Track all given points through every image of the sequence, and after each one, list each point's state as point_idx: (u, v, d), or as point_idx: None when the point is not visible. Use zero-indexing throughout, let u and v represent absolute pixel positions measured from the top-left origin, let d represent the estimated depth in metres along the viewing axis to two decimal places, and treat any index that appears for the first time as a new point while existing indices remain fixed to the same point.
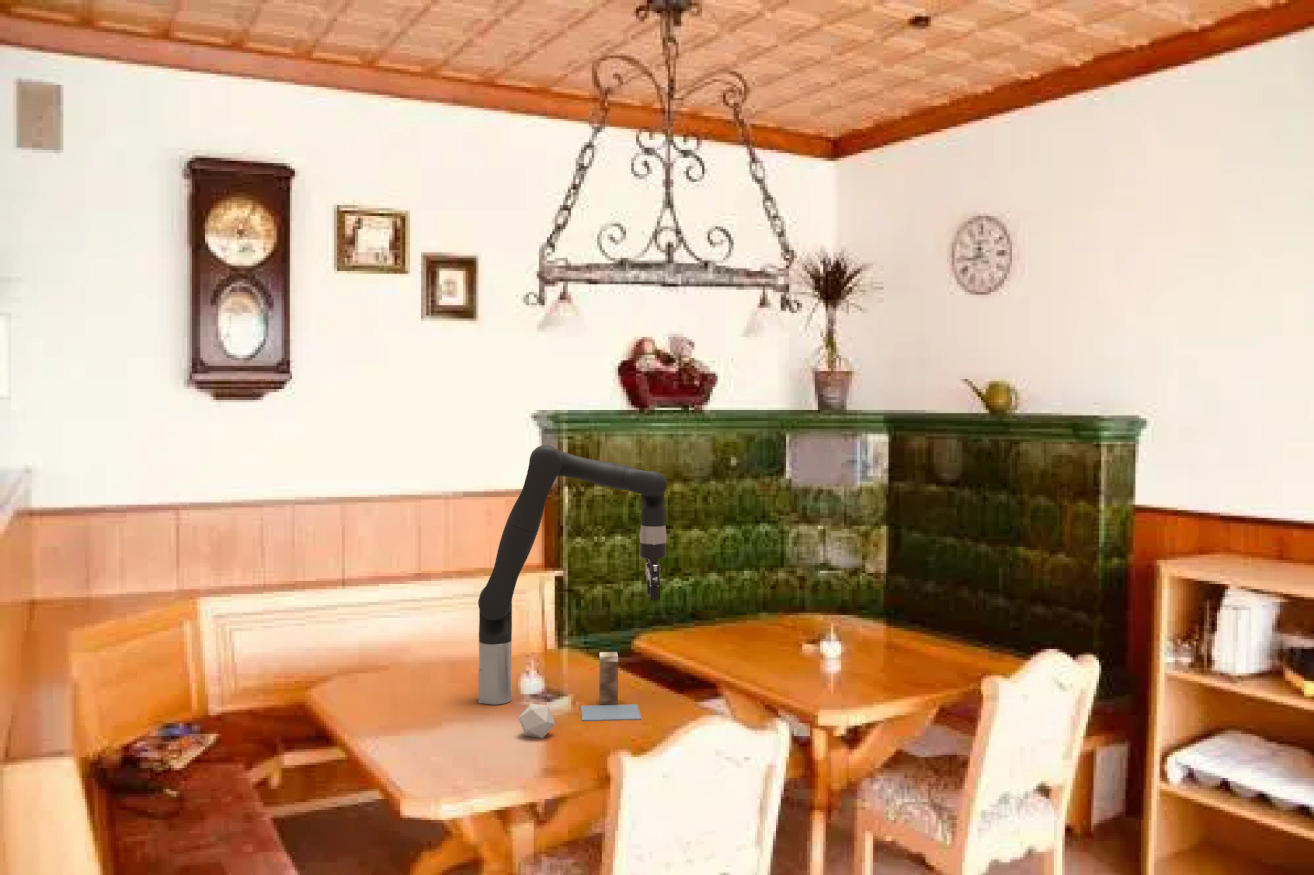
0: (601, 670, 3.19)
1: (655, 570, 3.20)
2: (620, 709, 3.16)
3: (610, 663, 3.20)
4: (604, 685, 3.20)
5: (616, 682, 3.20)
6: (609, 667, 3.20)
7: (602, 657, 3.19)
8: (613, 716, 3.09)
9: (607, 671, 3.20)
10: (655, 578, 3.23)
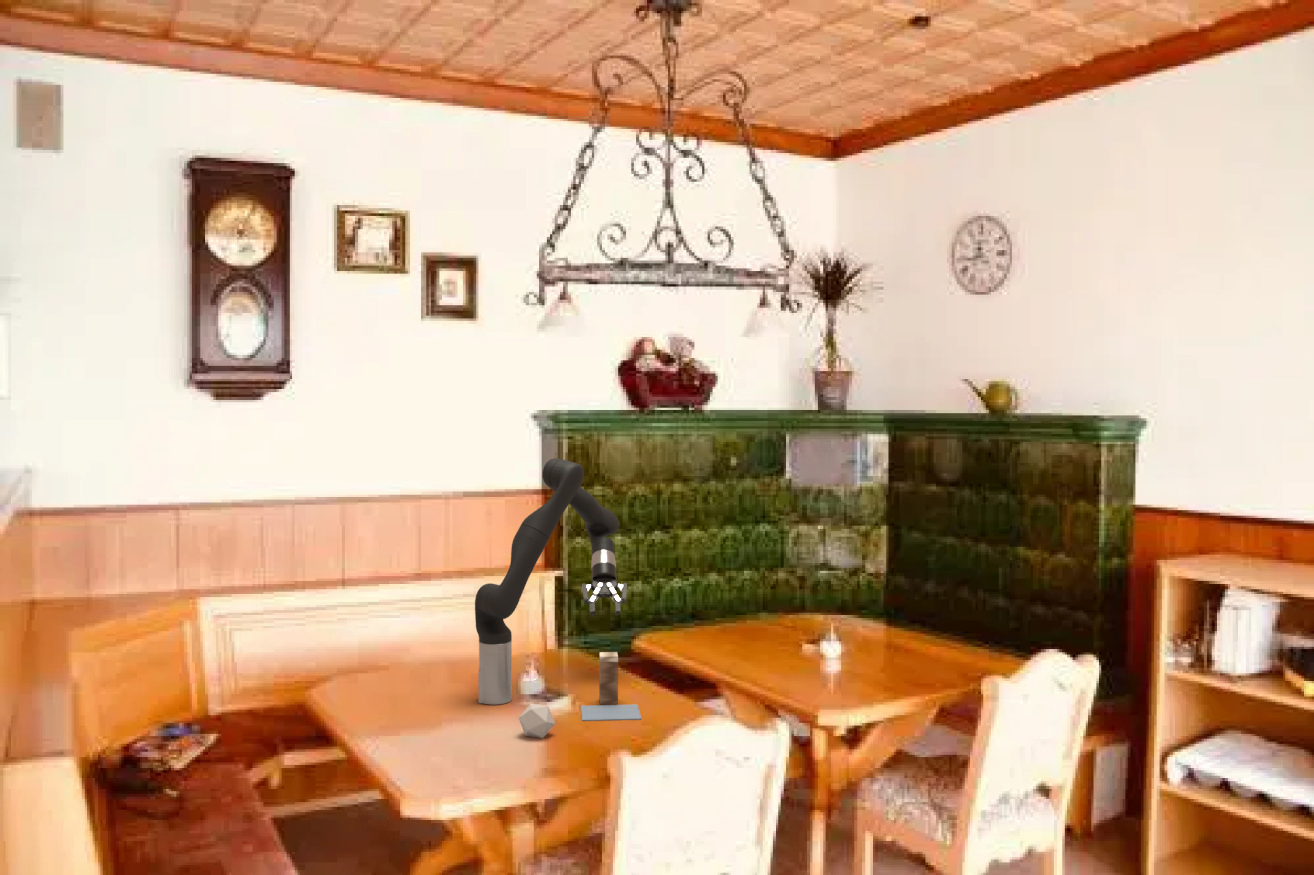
0: (601, 670, 3.19)
1: None
2: (620, 709, 3.16)
3: (610, 663, 3.19)
4: (604, 685, 3.20)
5: (616, 682, 3.20)
6: (609, 667, 3.20)
7: (602, 657, 3.19)
8: (613, 716, 3.09)
9: (607, 671, 3.20)
10: None
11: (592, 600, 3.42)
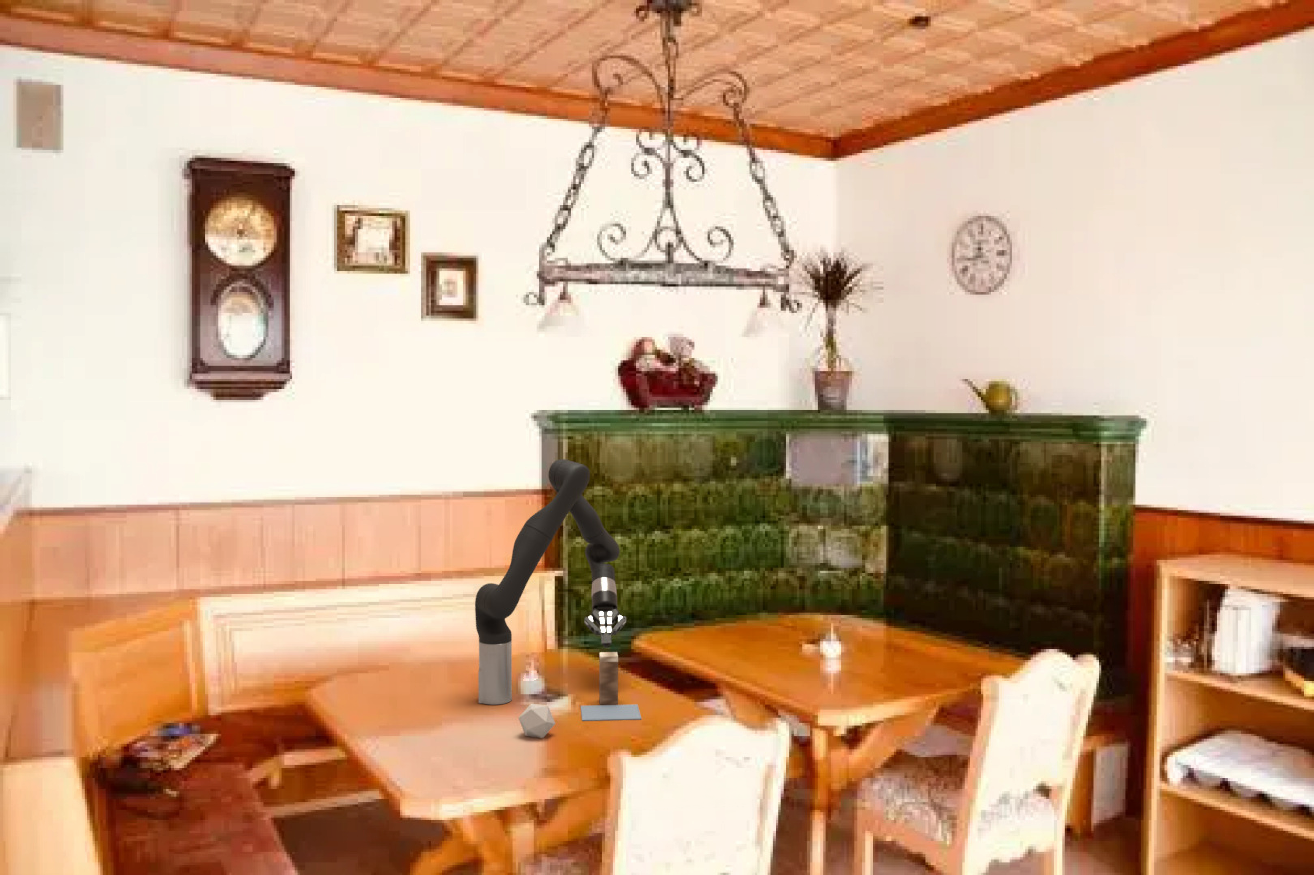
0: (601, 670, 3.19)
1: (623, 623, 3.37)
2: (620, 709, 3.16)
3: (610, 663, 3.19)
4: (604, 685, 3.20)
5: (616, 682, 3.20)
6: (609, 667, 3.20)
7: (602, 657, 3.19)
8: (613, 716, 3.09)
9: (607, 671, 3.20)
10: None
11: (603, 631, 3.33)
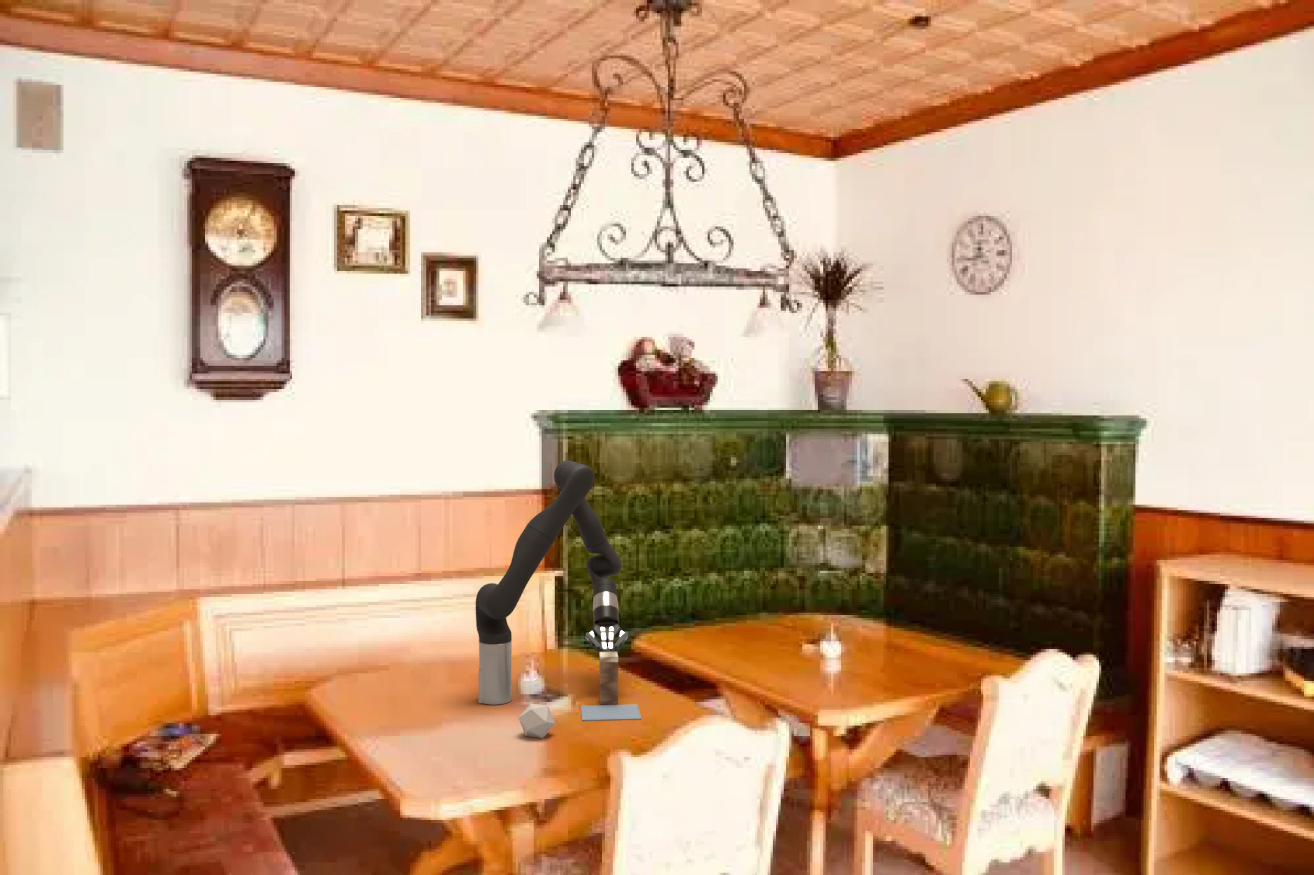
0: (601, 670, 3.19)
1: (625, 639, 3.30)
2: (620, 709, 3.16)
3: (610, 663, 3.19)
4: (604, 685, 3.20)
5: (616, 682, 3.20)
6: (609, 667, 3.19)
7: (602, 657, 3.19)
8: (613, 716, 3.09)
9: (607, 671, 3.19)
10: None
11: (605, 647, 3.27)
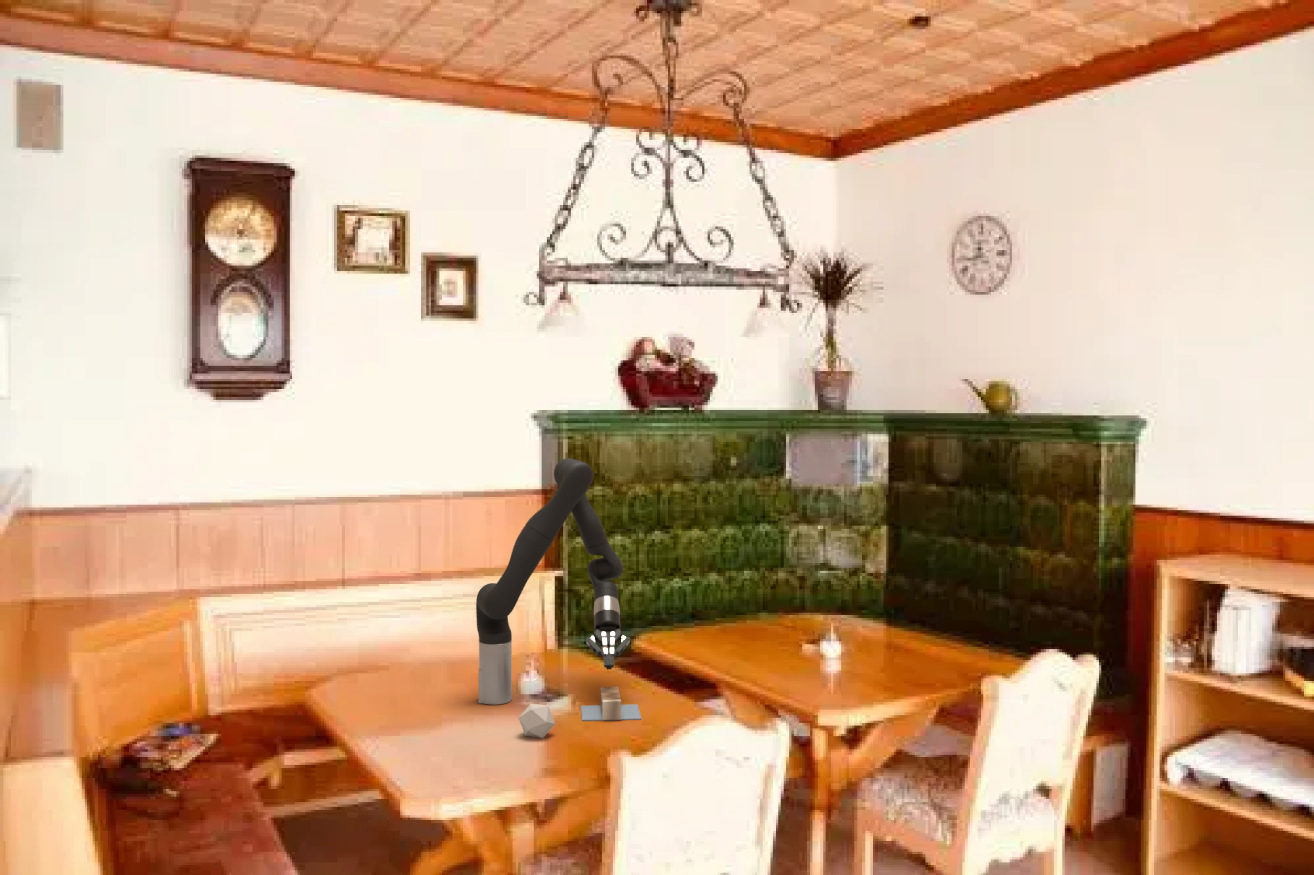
0: None
1: (627, 644, 3.24)
2: None
3: None
4: None
5: None
6: None
7: None
8: None
9: None
10: None
11: (606, 653, 3.20)
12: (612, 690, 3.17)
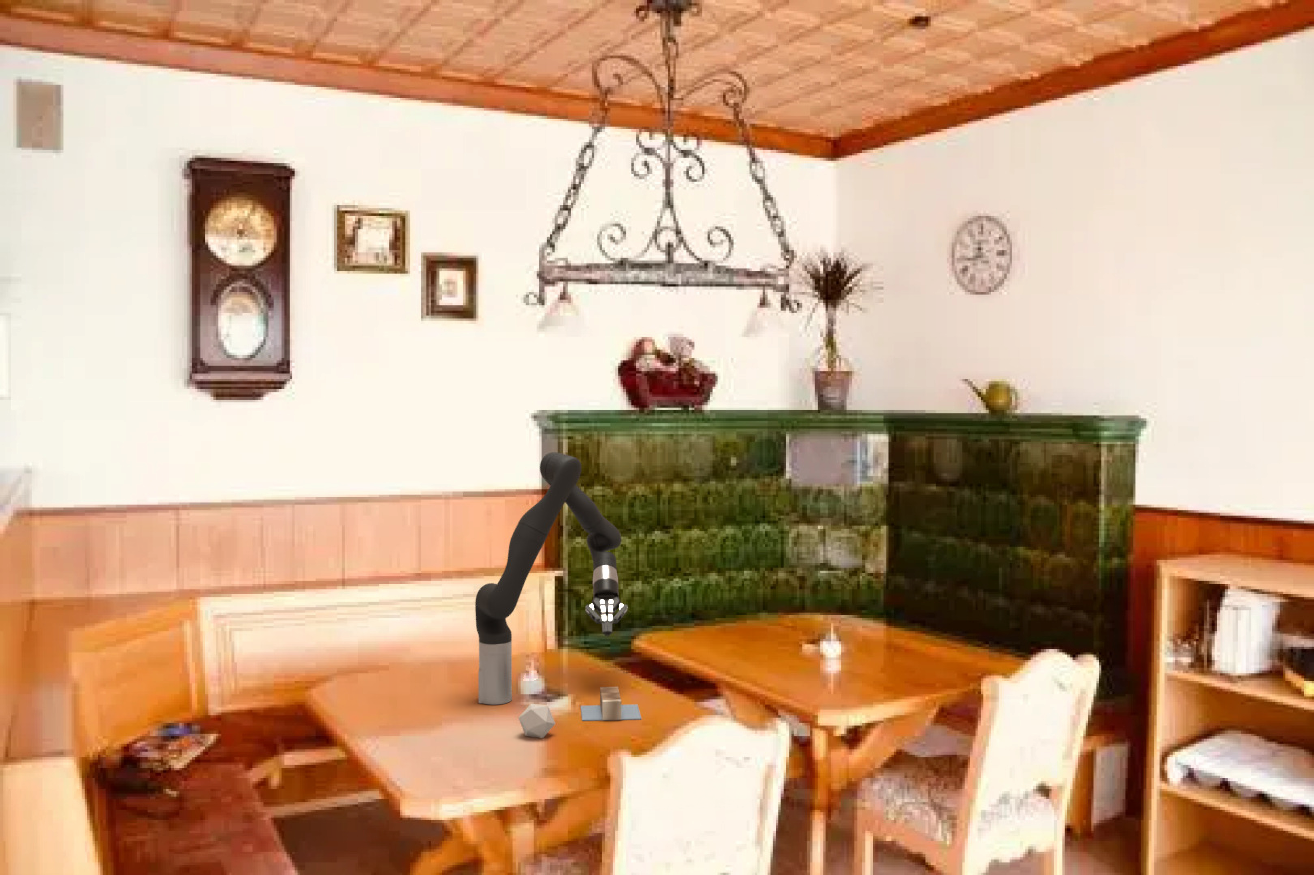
0: None
1: (624, 611, 3.34)
2: None
3: None
4: None
5: None
6: None
7: None
8: None
9: None
10: None
11: (604, 619, 3.30)
12: (612, 690, 3.17)
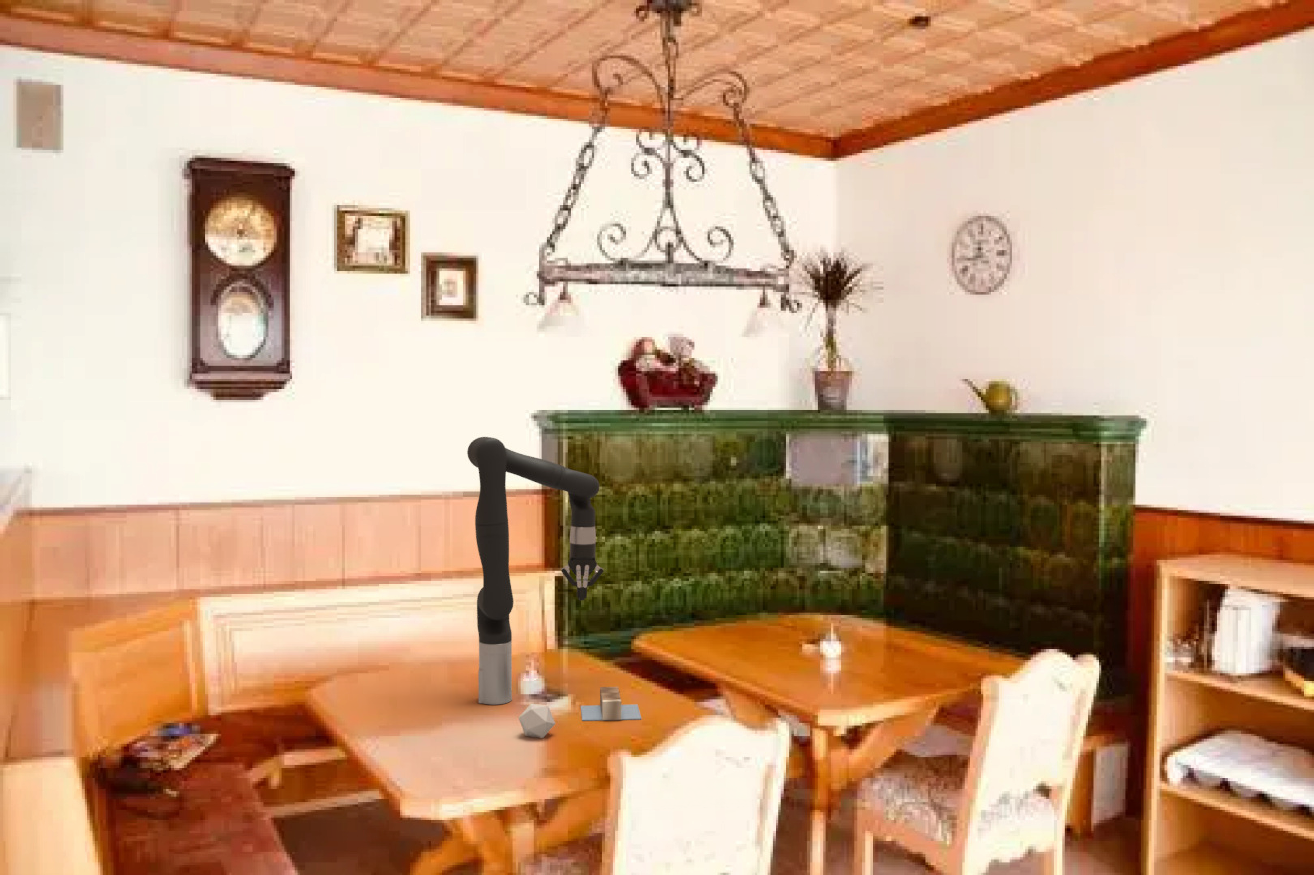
0: None
1: None
2: None
3: None
4: None
5: None
6: None
7: None
8: None
9: None
10: None
11: (579, 586, 3.34)
12: (612, 690, 3.17)
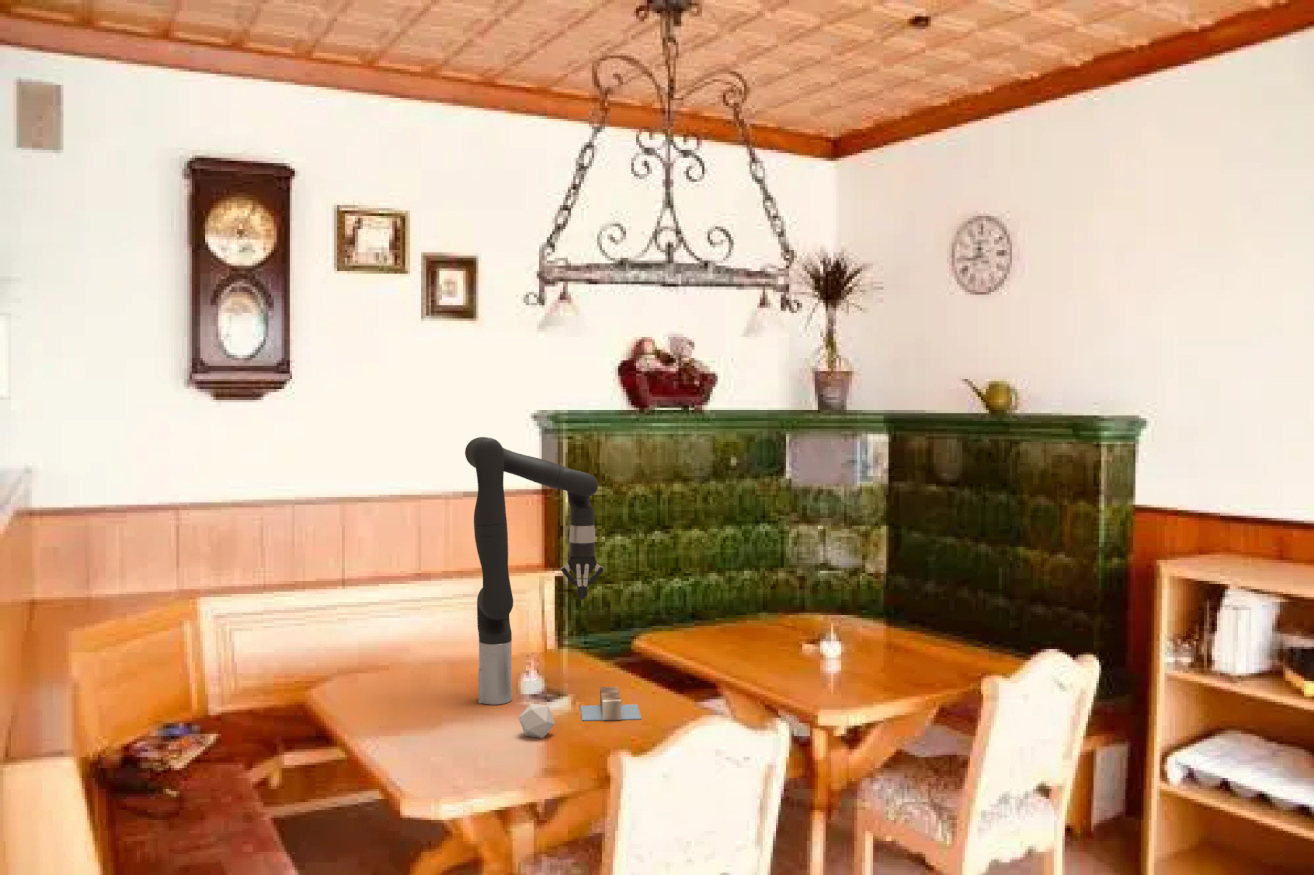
0: None
1: None
2: None
3: None
4: None
5: None
6: None
7: None
8: None
9: None
10: None
11: (580, 585, 3.34)
12: (612, 690, 3.17)
